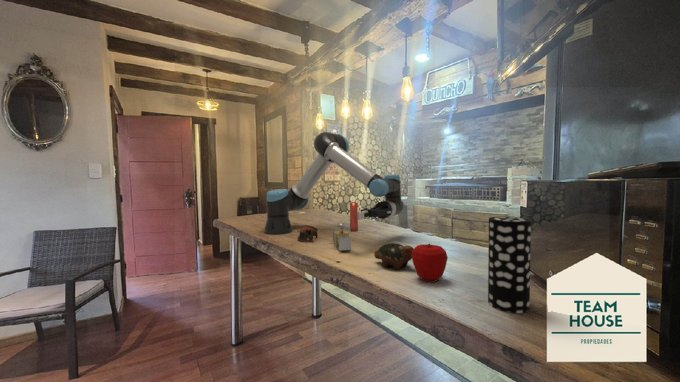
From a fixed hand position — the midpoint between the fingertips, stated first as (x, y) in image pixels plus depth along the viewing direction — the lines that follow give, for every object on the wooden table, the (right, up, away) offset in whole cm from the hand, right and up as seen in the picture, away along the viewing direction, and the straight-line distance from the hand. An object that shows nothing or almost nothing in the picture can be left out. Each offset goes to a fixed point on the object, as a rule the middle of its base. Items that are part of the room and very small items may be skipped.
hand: (358, 216), depth 112 cm
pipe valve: (-6, -14, +13) cm, 21 cm away
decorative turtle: (+11, -16, -14) cm, 24 cm away
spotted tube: (+32, -17, -44) cm, 57 cm away
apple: (+19, -16, -27) cm, 37 cm away
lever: (-4, -6, +7) cm, 10 cm away
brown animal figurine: (-22, -14, +28) cm, 38 cm away
